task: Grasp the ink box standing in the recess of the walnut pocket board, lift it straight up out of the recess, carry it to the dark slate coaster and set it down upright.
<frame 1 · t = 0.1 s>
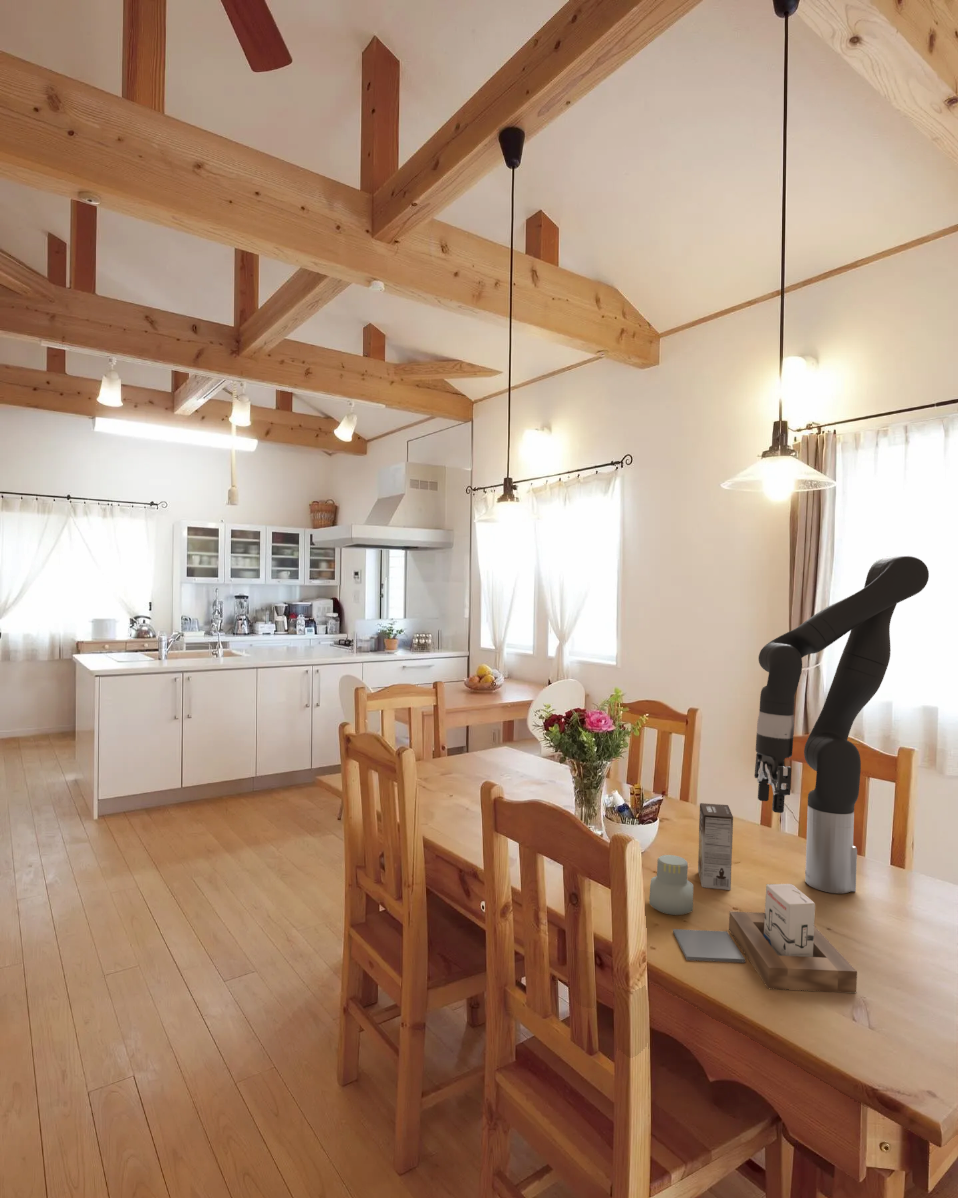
hand: (770, 806, 156), 17 cm above the table, tool pointing down, fingers open, 8 cm apart
ink box: (787, 960, 123), resting in pocket
pocket: (787, 958, 123), on the table
coffee box: (713, 882, 157), on the table
coaster: (707, 947, 127), on the table
air freshener: (671, 910, 142), on the table
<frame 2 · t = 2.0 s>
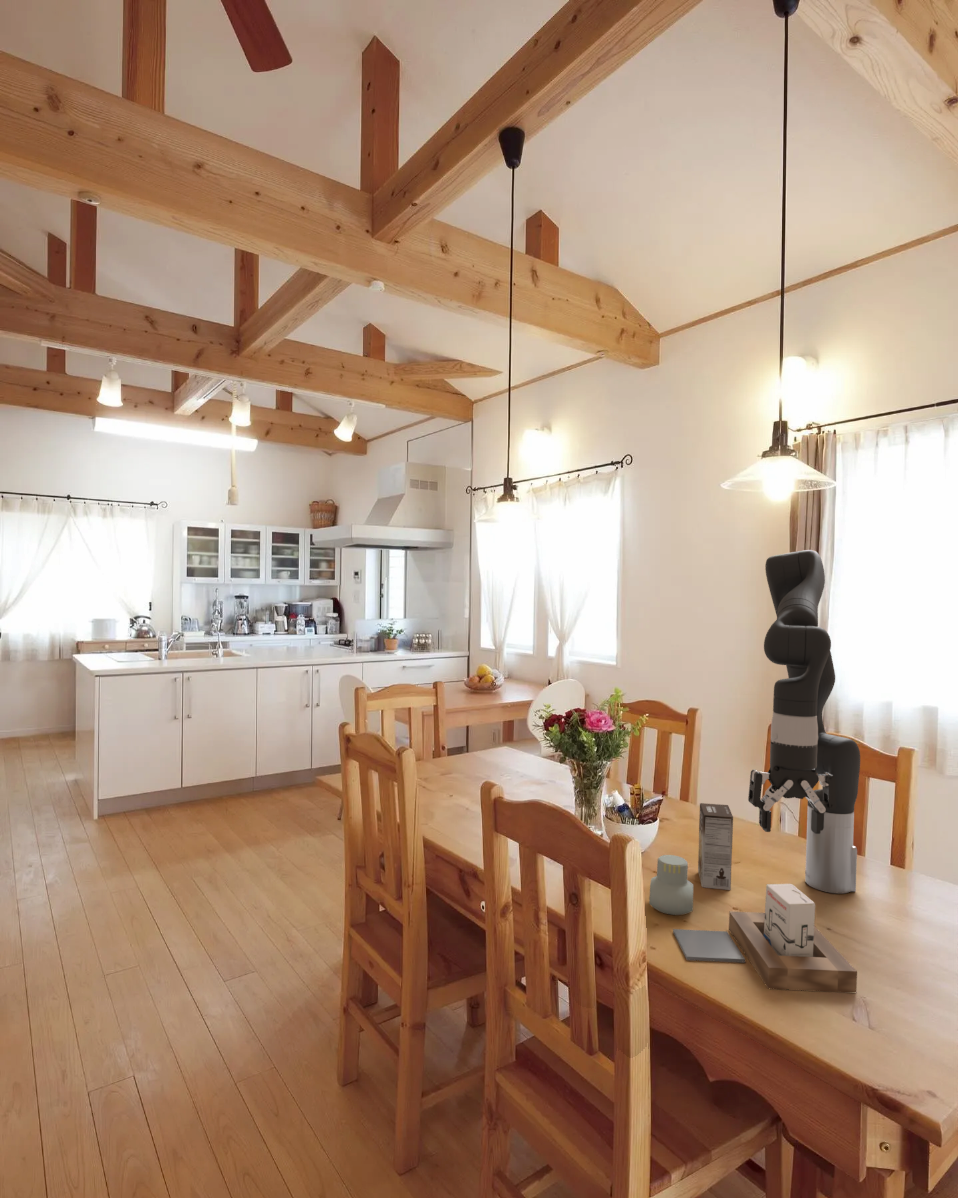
hand: (790, 831, 123), 22 cm above the table, tool pointing down, fingers open, 8 cm apart
nothing on the table moved.
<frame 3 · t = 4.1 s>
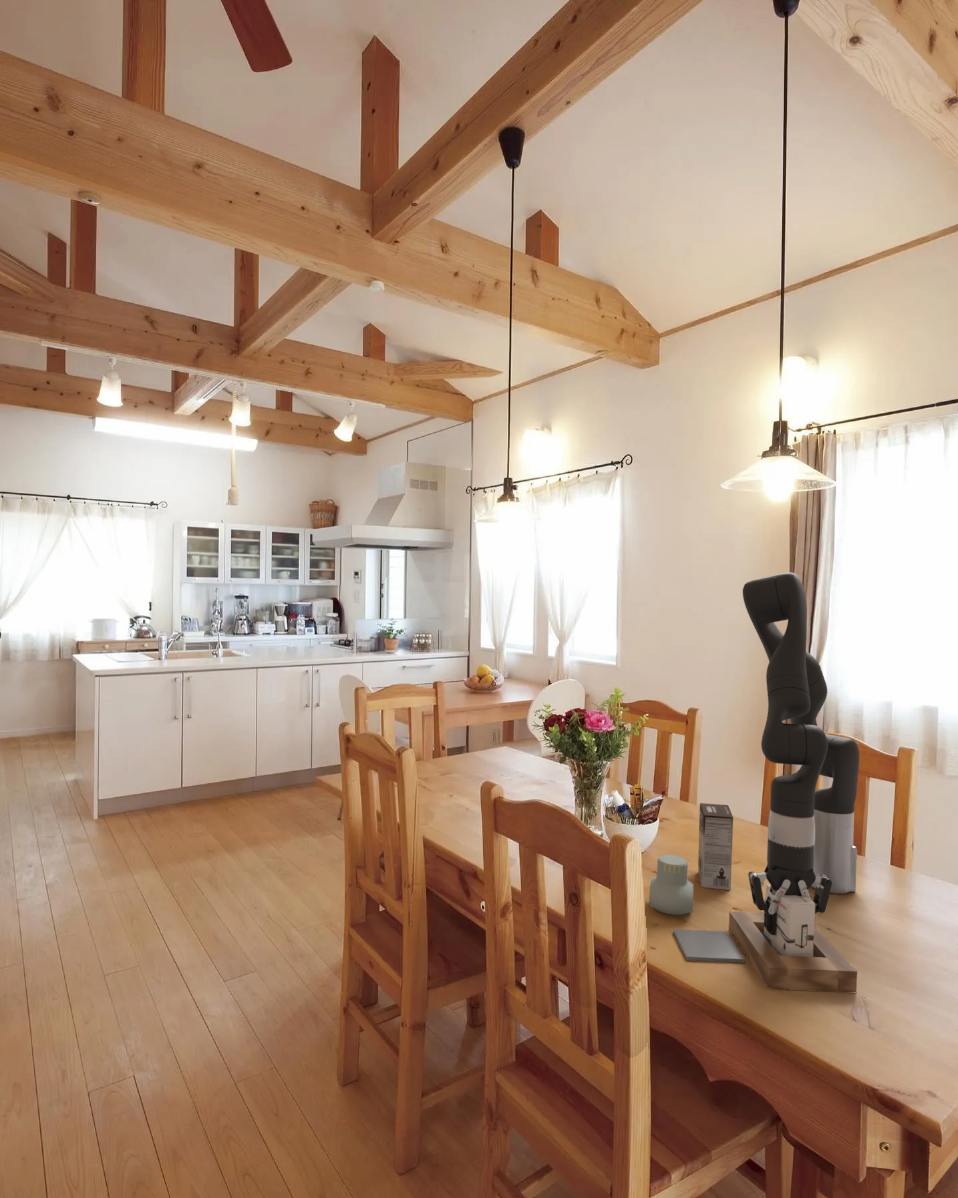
hand: (787, 933, 123), 4 cm above the table, tool pointing down, fingers closed on ink box, 5 cm apart
ink box: (787, 960, 123), resting in pocket, touching gripper
everything else where it was.
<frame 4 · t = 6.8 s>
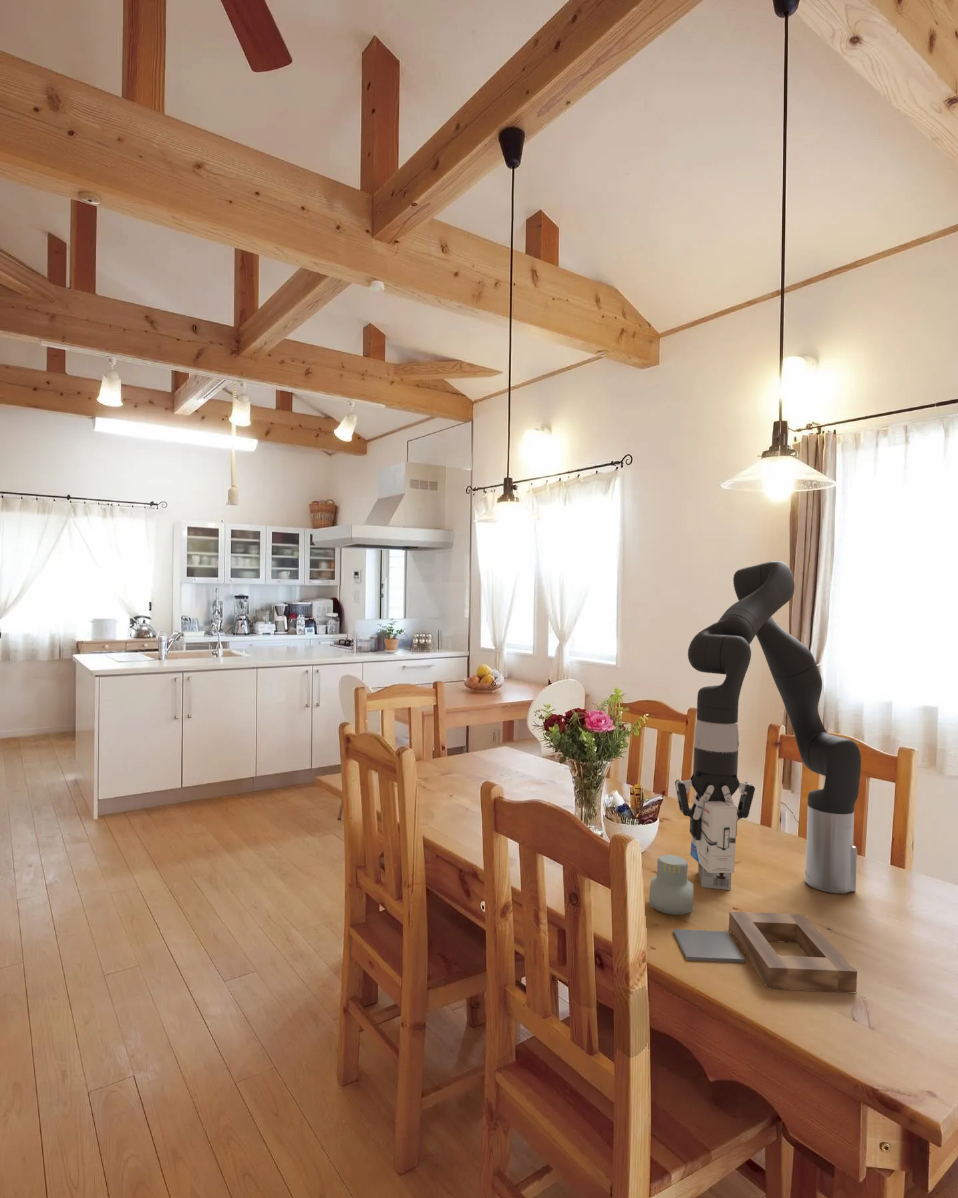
hand: (712, 839, 126), 20 cm above the table, tool pointing down, fingers closed on ink box, 5 cm apart
ink box: (712, 865, 126), point 15 cm above the table, touching gripper
everything else where it was.
when the fingers open (7 cm above the table, at t = 9.3 s): ink box drops 1 cm, resting on coaster.
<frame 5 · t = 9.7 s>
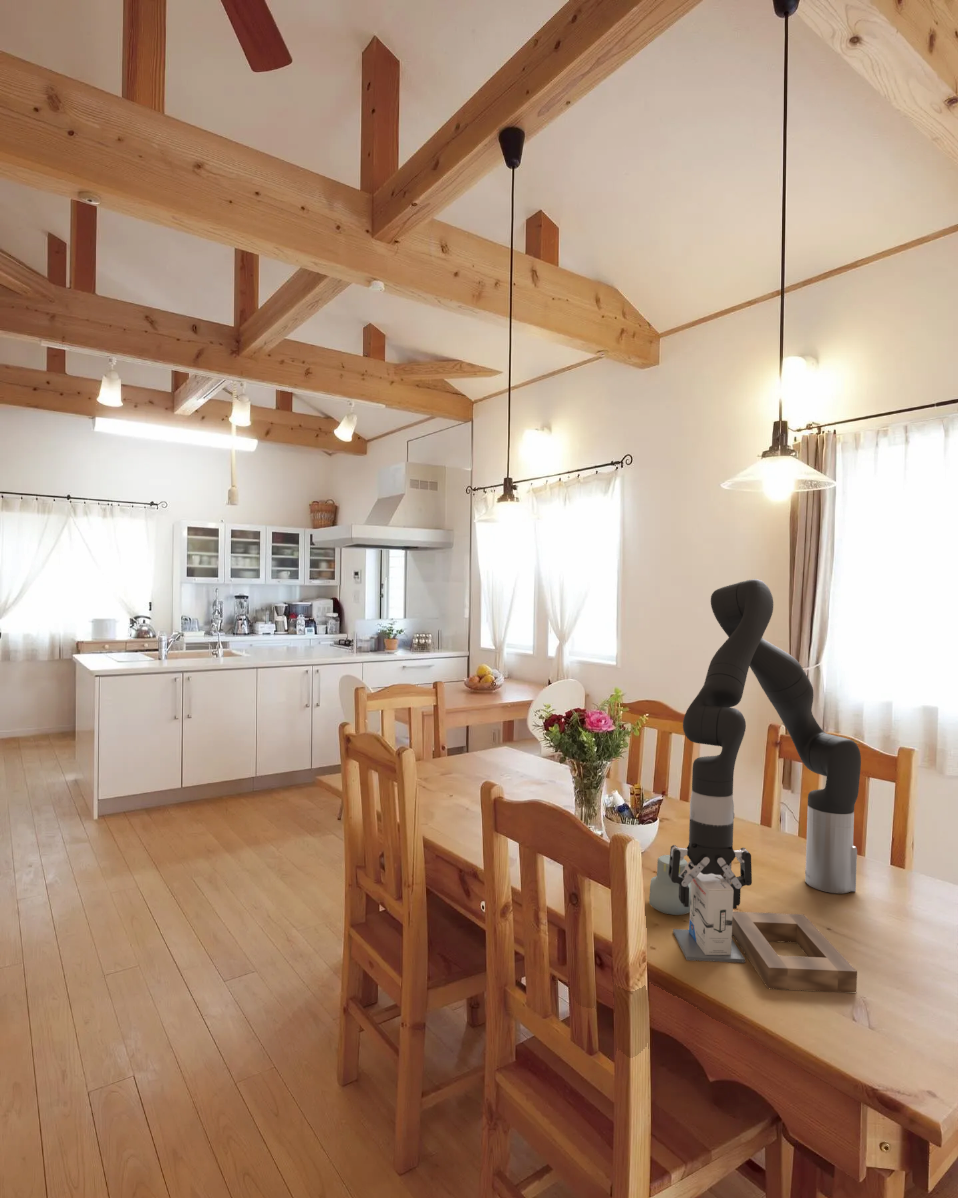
hand: (708, 906, 127), 7 cm above the table, tool pointing down, fingers open, 8 cm apart
ink box: (709, 944, 127), resting on coaster
everything else where it was.
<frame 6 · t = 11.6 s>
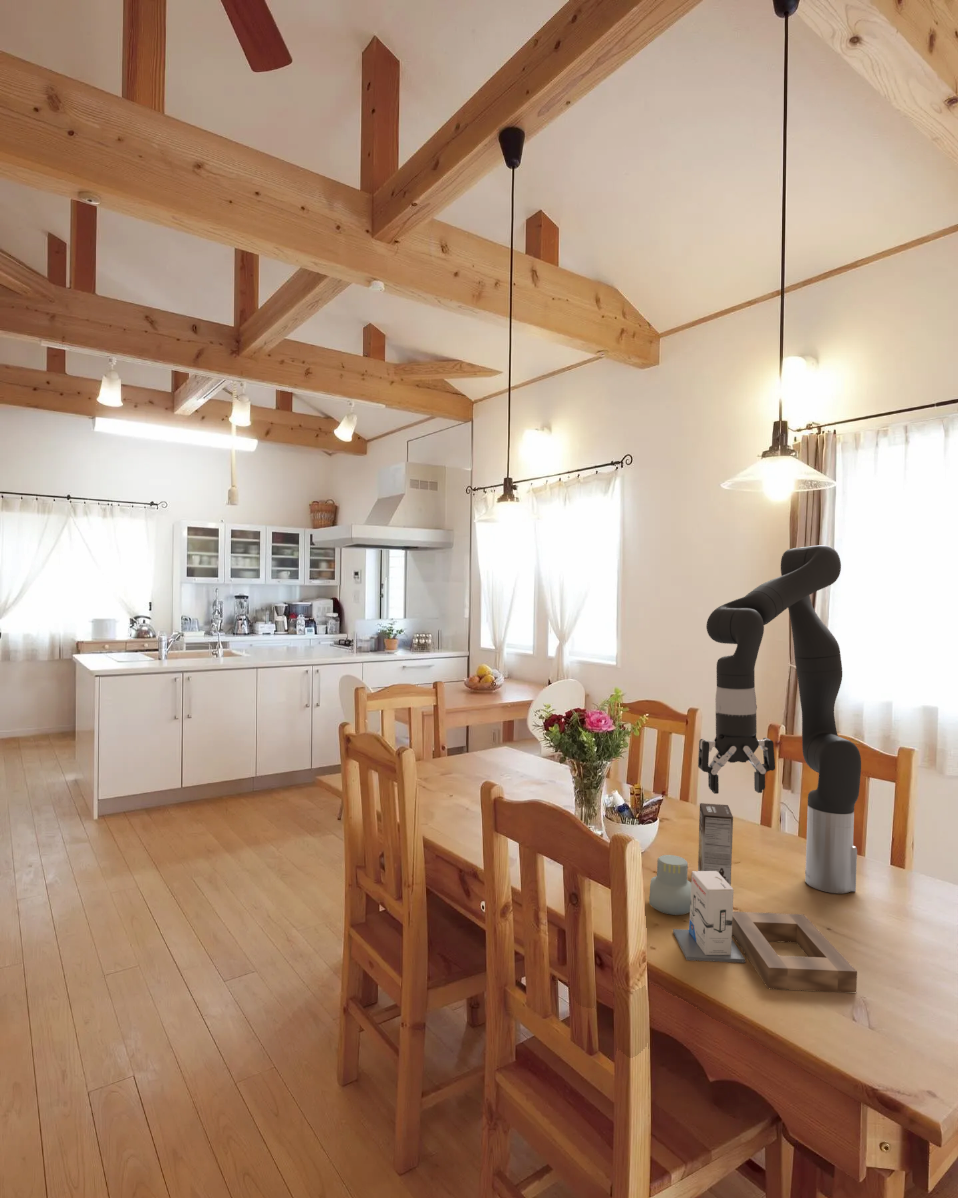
hand: (736, 792, 138), 25 cm above the table, tool pointing down, fingers open, 8 cm apart
nothing on the table moved.
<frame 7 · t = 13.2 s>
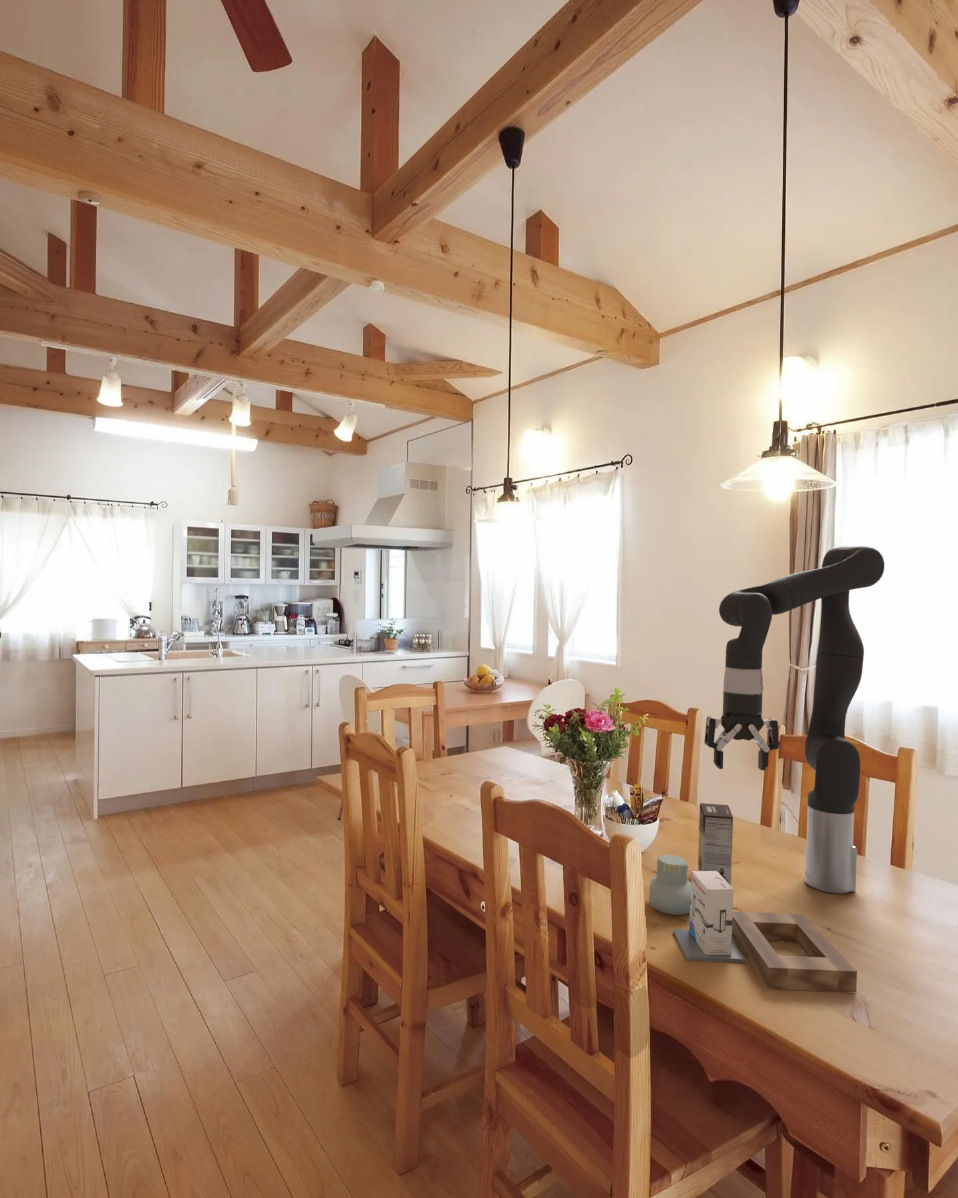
hand: (740, 768, 144), 28 cm above the table, tool pointing down, fingers open, 8 cm apart
nothing on the table moved.
at the end: ink box 0.4 cm from the coaster (horizontally); ink box tilted 0°; ink box touching coaster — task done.
